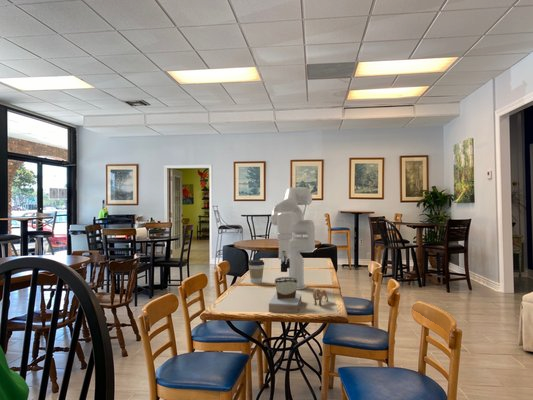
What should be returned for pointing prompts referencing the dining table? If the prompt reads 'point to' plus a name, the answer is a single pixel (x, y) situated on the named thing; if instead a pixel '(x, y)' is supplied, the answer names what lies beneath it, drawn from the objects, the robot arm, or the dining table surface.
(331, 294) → the dining table surface
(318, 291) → the lion figurine
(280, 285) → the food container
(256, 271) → the coffee cup
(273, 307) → the pedestal
